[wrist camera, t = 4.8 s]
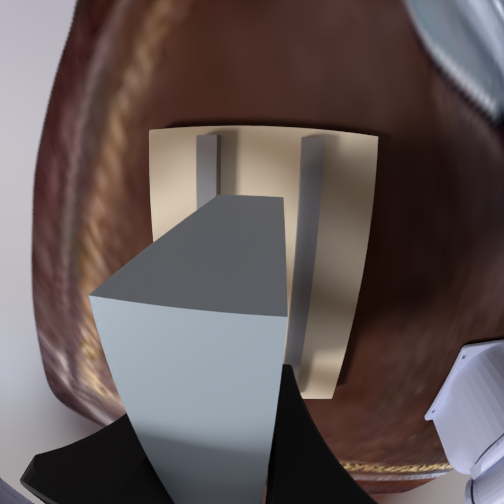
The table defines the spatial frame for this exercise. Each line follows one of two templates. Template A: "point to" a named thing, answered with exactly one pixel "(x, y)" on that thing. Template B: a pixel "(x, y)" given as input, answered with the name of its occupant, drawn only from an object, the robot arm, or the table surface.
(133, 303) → the grey rectangular block
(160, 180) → the track board
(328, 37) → the table surface
